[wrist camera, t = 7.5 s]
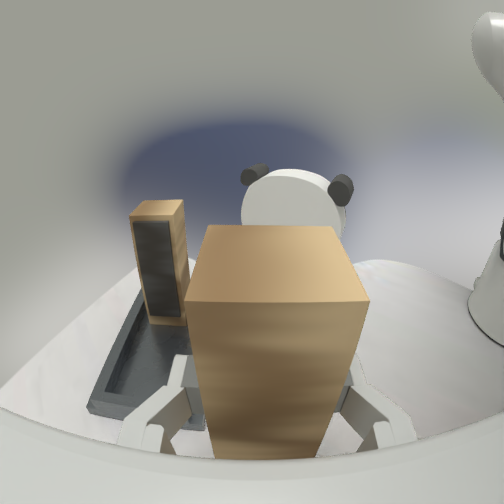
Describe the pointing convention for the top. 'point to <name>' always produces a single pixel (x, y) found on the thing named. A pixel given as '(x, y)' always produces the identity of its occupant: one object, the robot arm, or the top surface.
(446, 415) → the top surface
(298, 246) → the oak finger
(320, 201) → the panda figurine
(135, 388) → the dark grey tray
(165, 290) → the block
